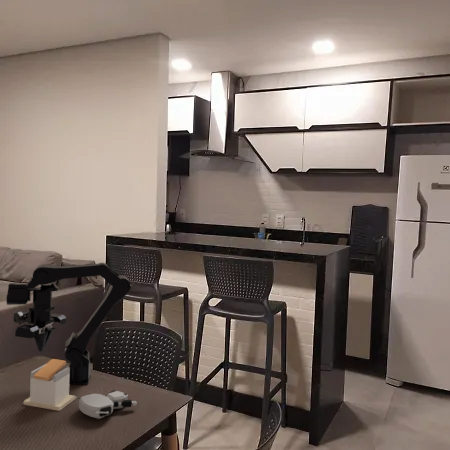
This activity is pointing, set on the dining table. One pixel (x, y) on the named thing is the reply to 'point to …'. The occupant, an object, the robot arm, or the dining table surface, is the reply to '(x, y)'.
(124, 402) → the robot toy
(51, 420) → the dining table surface
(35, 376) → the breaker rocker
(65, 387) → the box
